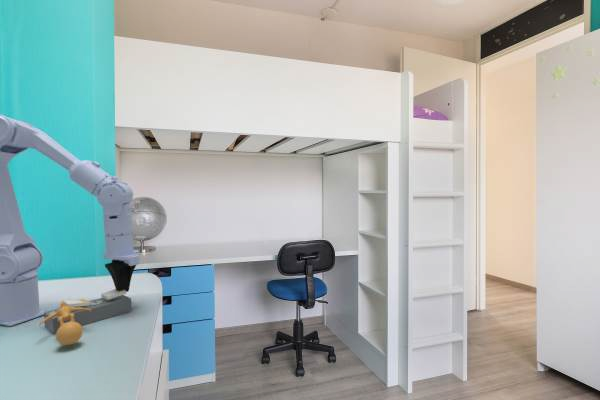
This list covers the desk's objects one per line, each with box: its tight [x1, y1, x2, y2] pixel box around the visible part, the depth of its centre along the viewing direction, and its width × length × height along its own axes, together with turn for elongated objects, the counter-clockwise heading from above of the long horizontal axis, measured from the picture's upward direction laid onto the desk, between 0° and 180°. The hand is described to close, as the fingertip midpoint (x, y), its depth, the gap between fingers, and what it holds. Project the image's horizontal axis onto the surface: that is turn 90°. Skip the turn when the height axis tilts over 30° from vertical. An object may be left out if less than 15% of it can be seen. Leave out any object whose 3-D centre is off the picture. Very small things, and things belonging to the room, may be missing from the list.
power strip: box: [43, 294, 133, 335], centre depth 74 cm, size 15×6×3 cm, turn 140°
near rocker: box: [62, 298, 90, 308], centre depth 72 cm, size 4×4×1 cm
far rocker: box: [100, 288, 127, 300], centre depth 78 cm, size 4×4×1 cm
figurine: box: [38, 301, 91, 346], centre depth 64 cm, size 8×6×12 cm
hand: (123, 292), depth 79 cm, fingers closed, pressing on far rocker
